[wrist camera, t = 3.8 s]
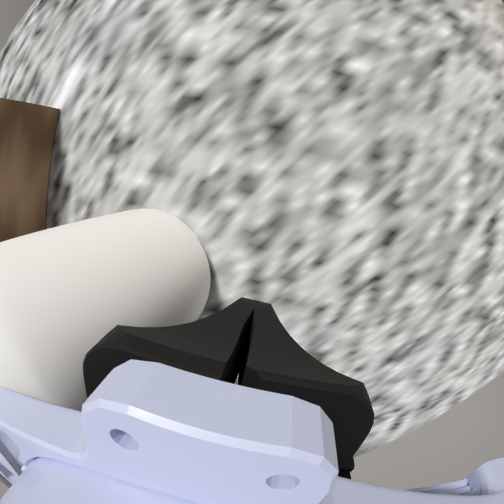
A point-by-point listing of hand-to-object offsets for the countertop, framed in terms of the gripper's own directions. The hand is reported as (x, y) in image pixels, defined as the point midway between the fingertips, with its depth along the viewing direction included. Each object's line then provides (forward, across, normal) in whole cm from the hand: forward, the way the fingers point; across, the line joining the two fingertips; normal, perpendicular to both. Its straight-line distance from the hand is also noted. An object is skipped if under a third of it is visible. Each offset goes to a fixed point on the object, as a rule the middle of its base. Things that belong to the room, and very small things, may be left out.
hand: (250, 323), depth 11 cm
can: (+3, +5, 0) cm, 6 cm away
